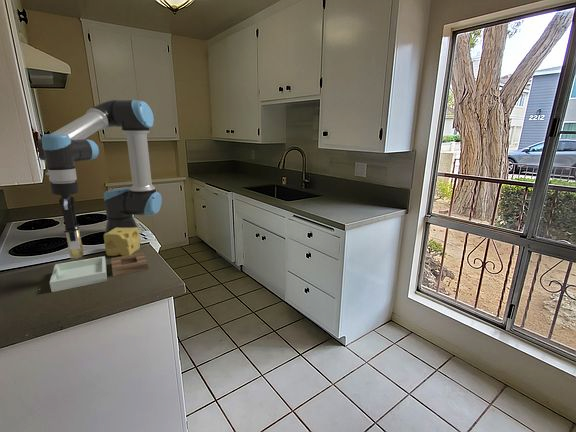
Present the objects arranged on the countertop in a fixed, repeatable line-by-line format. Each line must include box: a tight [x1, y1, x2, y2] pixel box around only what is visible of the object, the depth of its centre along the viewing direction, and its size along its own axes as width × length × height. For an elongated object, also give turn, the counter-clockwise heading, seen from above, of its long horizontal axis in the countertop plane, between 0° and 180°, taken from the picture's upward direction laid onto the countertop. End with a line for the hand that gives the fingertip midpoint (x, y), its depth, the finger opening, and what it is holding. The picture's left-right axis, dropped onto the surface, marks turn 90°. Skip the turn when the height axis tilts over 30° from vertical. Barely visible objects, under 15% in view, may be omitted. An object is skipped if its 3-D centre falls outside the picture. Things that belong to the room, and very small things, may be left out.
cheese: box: [103, 226, 141, 257], centre depth 134 cm, size 10×11×10 cm
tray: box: [49, 255, 108, 293], centre depth 112 cm, size 16×16×4 cm
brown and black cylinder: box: [64, 225, 85, 259], centre depth 108 cm, size 4×4×11 cm
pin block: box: [110, 252, 149, 277], centre depth 120 cm, size 12×12×2 cm
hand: (75, 246), depth 109 cm, fingers closed on brown and black cylinder, 4 cm apart
